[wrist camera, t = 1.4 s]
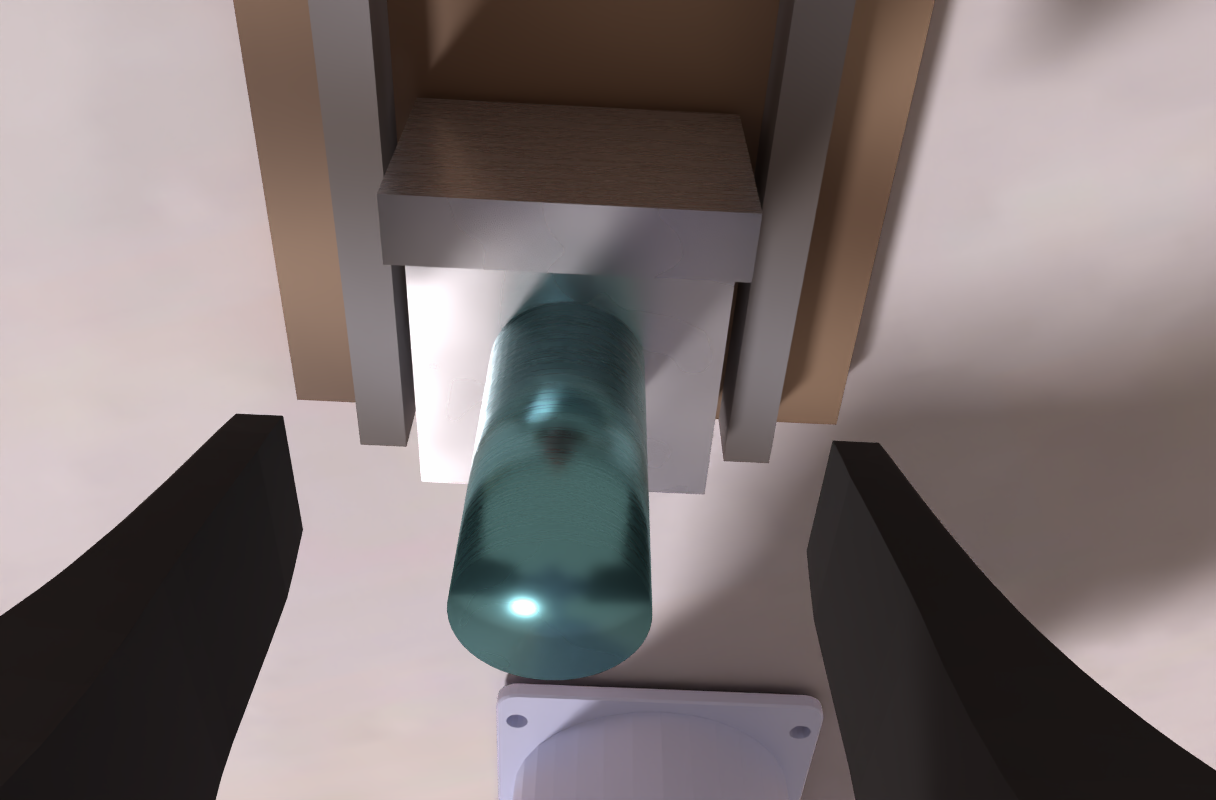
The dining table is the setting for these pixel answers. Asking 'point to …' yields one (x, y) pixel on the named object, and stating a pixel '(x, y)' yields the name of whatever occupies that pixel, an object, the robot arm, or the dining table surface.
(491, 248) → the ram
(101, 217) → the dining table surface
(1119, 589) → the dining table surface
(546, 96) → the frame
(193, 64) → the dining table surface
